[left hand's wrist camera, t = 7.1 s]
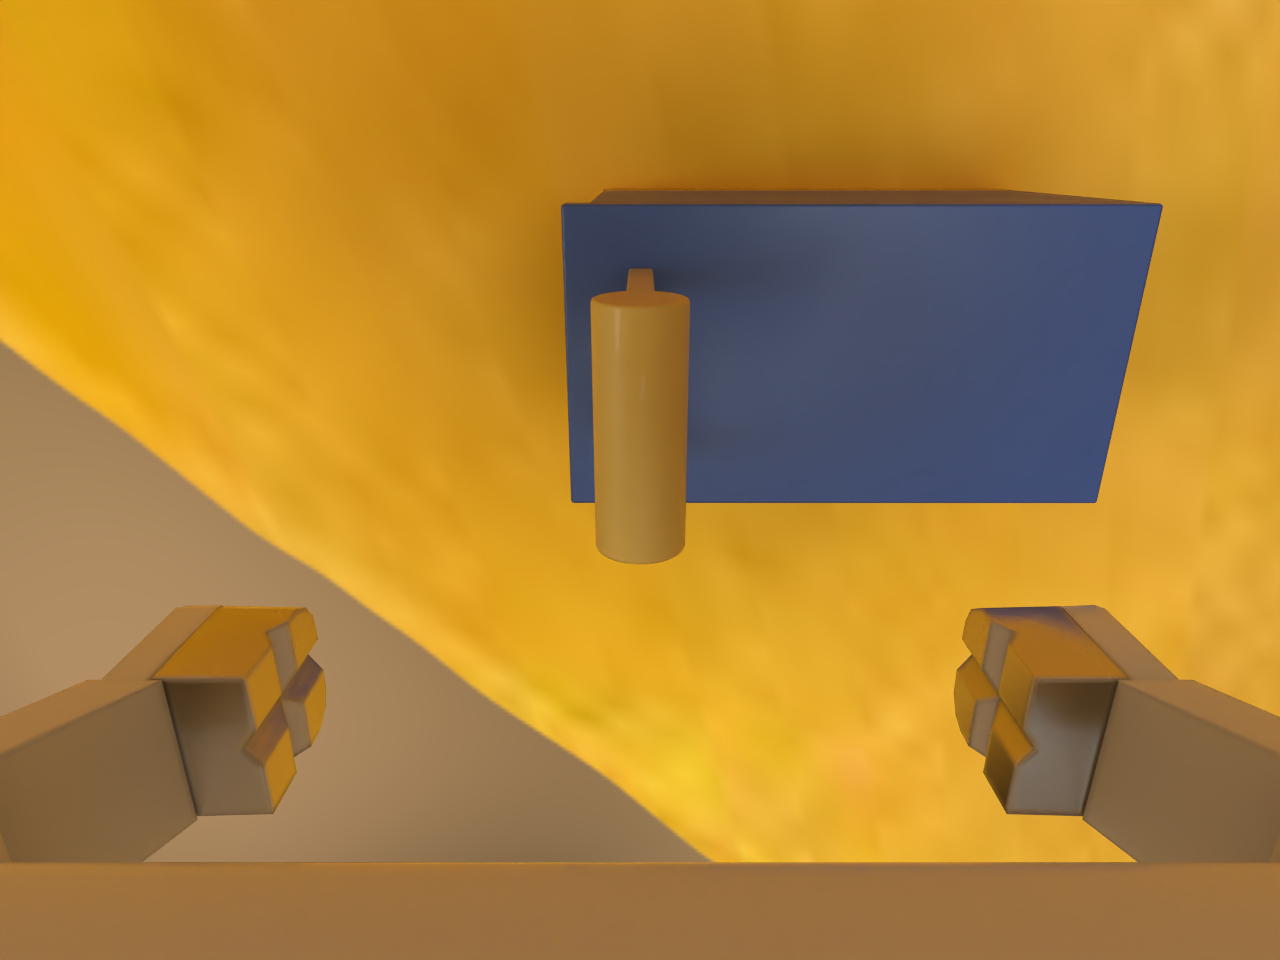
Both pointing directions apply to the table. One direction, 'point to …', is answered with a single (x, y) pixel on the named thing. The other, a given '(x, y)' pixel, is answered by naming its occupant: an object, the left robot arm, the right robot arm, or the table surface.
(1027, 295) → the lid
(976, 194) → the chest
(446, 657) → the table surface
